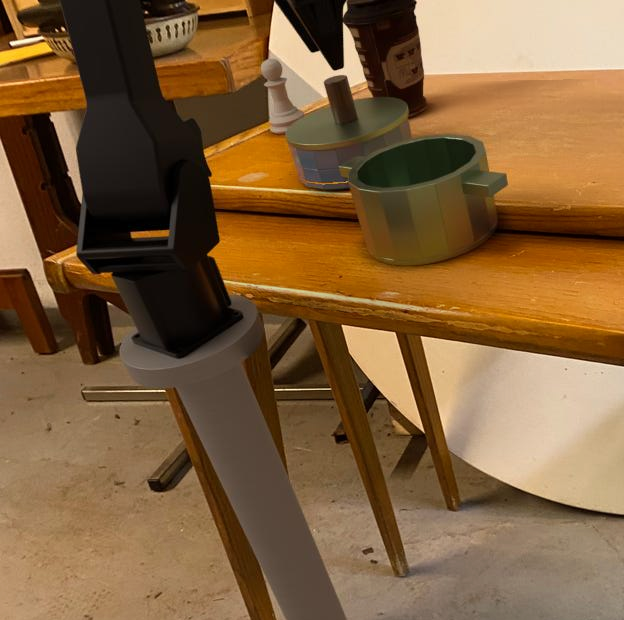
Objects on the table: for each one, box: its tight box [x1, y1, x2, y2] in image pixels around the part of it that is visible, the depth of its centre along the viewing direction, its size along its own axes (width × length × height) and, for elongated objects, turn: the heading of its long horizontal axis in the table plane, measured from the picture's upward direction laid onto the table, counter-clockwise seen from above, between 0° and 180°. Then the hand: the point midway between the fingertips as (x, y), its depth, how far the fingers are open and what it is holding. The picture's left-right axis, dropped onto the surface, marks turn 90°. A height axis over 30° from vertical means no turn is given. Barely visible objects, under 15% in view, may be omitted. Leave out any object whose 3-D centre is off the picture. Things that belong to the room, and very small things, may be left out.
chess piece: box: [260, 58, 305, 135], centre depth 109 cm, size 5×5×8 cm
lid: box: [284, 74, 409, 150], centre depth 92 cm, size 13×13×5 cm
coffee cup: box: [343, 0, 428, 118], centre depth 104 cm, size 9×8×13 cm
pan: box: [287, 117, 414, 191], centre depth 94 cm, size 12×12×4 cm
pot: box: [339, 133, 509, 267], centre depth 78 cm, size 12×17×6 cm
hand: (326, 60), depth 89 cm, fingers open, 9 cm apart
